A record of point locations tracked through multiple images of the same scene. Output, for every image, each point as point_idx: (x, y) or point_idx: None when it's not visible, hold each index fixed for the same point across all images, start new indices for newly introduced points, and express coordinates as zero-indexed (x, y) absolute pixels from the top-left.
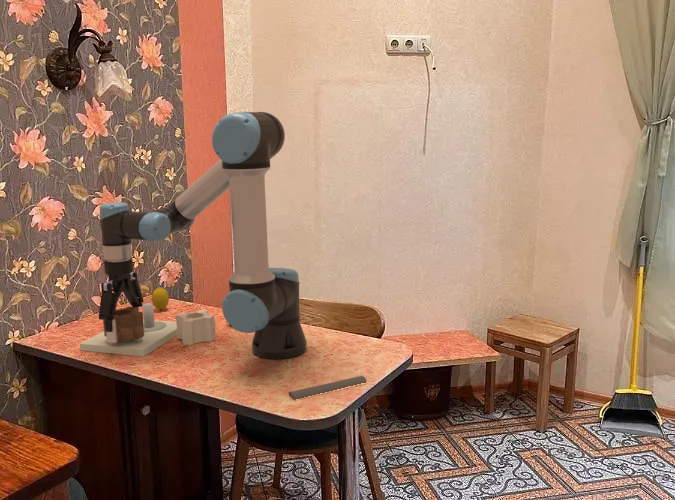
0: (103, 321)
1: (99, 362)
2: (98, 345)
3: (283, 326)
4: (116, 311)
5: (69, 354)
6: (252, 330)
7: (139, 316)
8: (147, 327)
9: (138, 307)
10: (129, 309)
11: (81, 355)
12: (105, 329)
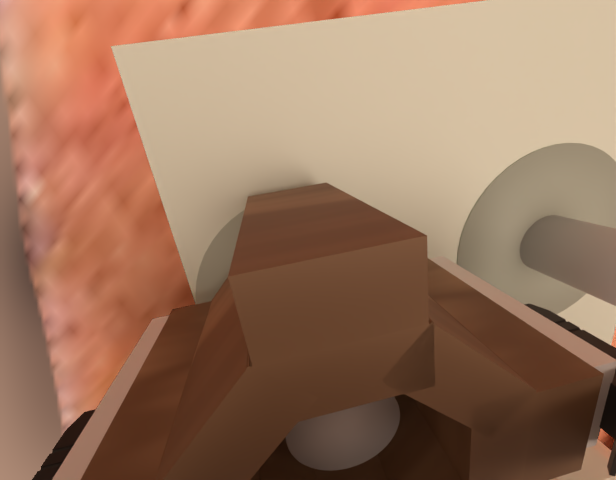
0: (242, 230)
1: (75, 318)
2: (166, 214)
3: None
4: (386, 389)
5: (35, 42)
6: None
7: None
8: (522, 254)
9: (591, 445)
10: (487, 468)
11: (79, 143)
12: (61, 437)
